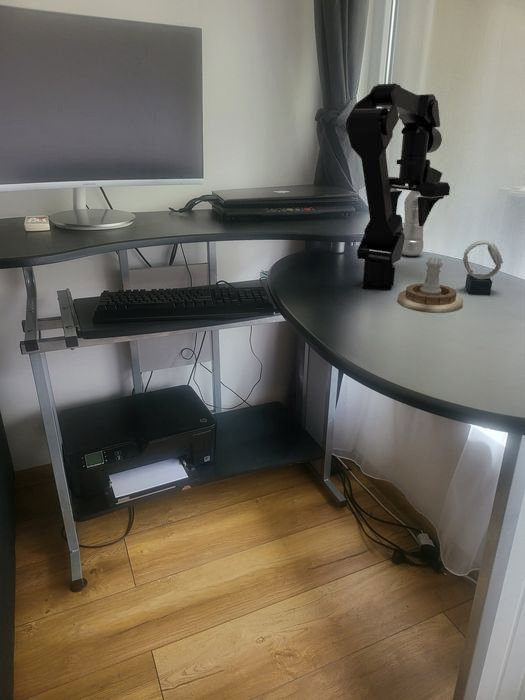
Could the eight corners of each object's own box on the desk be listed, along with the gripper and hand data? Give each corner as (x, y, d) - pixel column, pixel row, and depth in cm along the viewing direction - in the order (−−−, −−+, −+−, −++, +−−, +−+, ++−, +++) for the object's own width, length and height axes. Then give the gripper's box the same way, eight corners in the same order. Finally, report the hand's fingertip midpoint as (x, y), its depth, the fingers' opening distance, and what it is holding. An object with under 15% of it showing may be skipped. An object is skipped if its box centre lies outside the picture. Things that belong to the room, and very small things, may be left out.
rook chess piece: (443, 295, 107) (449, 258, 104) (437, 301, 104) (443, 263, 101) (422, 292, 110) (427, 255, 106) (415, 298, 106) (420, 260, 103)
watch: (499, 295, 111) (508, 245, 106) (460, 294, 112) (468, 244, 108) (494, 288, 116) (503, 239, 111) (456, 286, 117) (464, 238, 113)
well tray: (398, 310, 103) (399, 297, 102) (396, 291, 114) (398, 280, 113) (466, 314, 100) (468, 301, 99) (458, 294, 112) (459, 283, 111)
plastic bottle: (399, 258, 143) (407, 182, 135) (397, 252, 149) (405, 180, 141) (423, 258, 142) (432, 183, 134) (420, 253, 148) (429, 180, 140)
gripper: (470, 155, 115) (460, 225, 122) (407, 152, 130) (401, 215, 136) (437, 157, 110) (428, 230, 116) (375, 153, 124) (370, 219, 131)
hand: (406, 223), depth 125 cm, fingers open, 9 cm apart
